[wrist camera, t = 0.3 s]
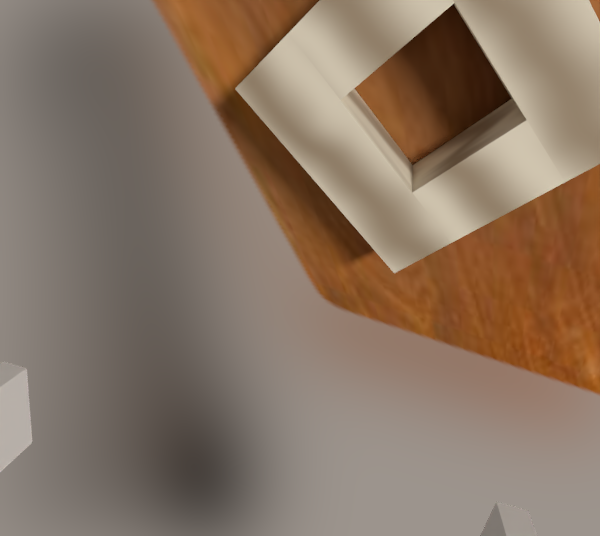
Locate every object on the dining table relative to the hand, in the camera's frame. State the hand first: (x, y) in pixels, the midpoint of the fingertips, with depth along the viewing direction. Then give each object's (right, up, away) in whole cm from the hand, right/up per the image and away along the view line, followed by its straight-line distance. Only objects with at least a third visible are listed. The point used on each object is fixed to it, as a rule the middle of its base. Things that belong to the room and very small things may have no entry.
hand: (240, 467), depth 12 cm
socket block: (+11, +18, +19) cm, 28 cm away
